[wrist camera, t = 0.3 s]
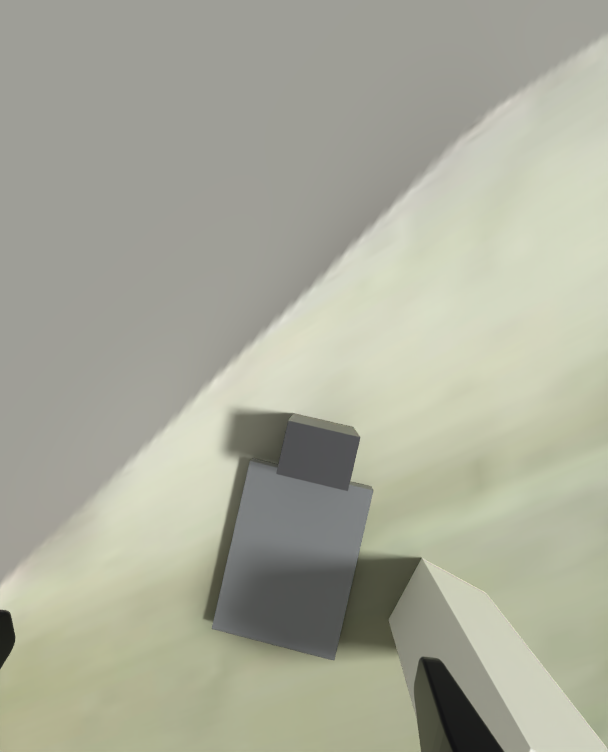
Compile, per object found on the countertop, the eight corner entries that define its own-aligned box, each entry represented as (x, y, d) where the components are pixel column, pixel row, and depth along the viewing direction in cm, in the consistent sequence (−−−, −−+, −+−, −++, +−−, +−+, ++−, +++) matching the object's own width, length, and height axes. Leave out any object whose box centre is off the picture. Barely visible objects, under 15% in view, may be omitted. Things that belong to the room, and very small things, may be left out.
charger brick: (452, 654, 23) (594, 951, 11) (388, 619, 23) (461, 875, 11) (486, 592, 23) (666, 823, 11) (421, 557, 23) (531, 748, 11)
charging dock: (333, 650, 23) (336, 707, 19) (215, 620, 24) (194, 669, 20) (383, 434, 23) (396, 445, 19) (264, 406, 24) (252, 412, 20)
